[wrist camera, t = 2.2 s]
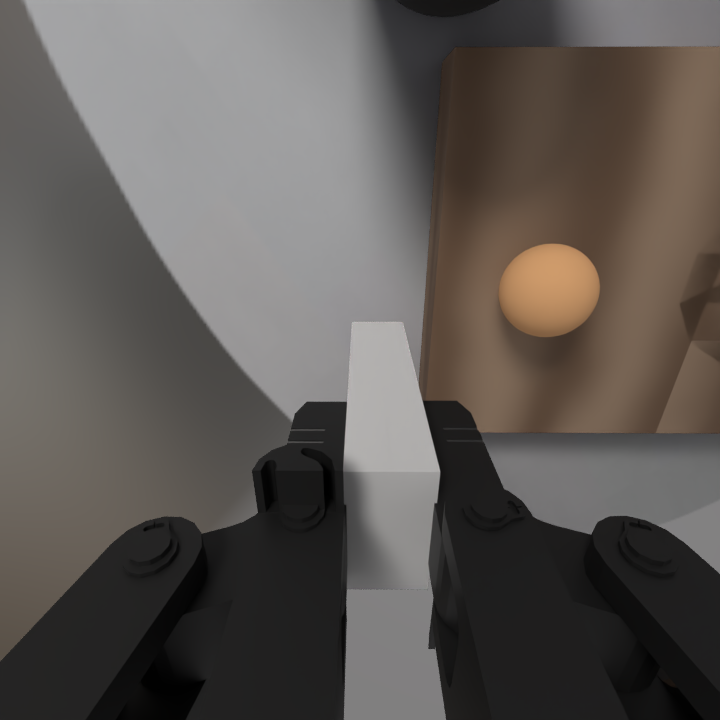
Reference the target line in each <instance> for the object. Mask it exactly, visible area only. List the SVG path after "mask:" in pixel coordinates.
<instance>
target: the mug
mask: <svg viewBox="0 0 720 720" xmlns="http://www.w3.org/2000/svg"><path fill="white" fill-rule="evenodd" d="M396 1H398V2H399V3H400V4H402V5H404V6H405V7H407V8H409V9H411V10H413V11H415V12H418V13H421V14H424V15H429V16H437V17H450V16H457V15H463V14H467V13H470V12H474V11H477V10H480V9H482V8H484V7H486V6H489V5H491V4H493V3H495V2H497V1H499V0H396Z"/></svg>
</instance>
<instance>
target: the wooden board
mask: <svg viewBox="0 0 720 720" xmlns="http://www.w3.org/2000/svg"><path fill="white" fill-rule="evenodd" d="M542 244H563V245H567V246H570V247H573V248H575V249H577V250H579V251H580V252H582V253H583V254H584V255H586V256H587V257H588V259H589V260H590V261H591V262H592V263H593V265H594V267H595V269H596V271H597V273H598V277H599V282H600V293H599V298H598V301H597V304H596V306H595V308H594V310H593V312H592V313H591V315H590V316H589V317H588V319H587V320H586V321H585V322H584V323H582V324H581V325H580V326H579V327H577V328H576V329H574V330H572V331H570V332H568V333H566V334H563V335H559V336H554V337H538V336H532V335H529V334H526V333H524V332H522V331H520V330H518V329H517V328H516V327H514V326H513V325H512V324H511V323H510V322H509V321H508V320H507V318H506V317H505V315H504V313H503V312H502V309H501V306H500V302H499V295H498V292H499V284H500V280H501V277H502V275H503V273H504V271H505V269H506V268H507V266H508V265H509V264H510V263H511V261H512V260H513V259H514V258H515V257H517V256H518V255H519V254H521V253H522V252H524V251H525V250H528V249H530V248H532V247H535V246H538V245H542ZM419 389H420V393H421V397H422V401H458V402H459V403H460V404H461V405H463V406H464V407H465V408H466V409H467V410H468V411H470V412H471V414H472V416H473V419H474V421H475V423H476V426H477V430H479V432H494V433H720V47H455V48H454V49H453V50H452V51H451V53H450V54H449V55H448V56H447V57H446V58H445V59H444V61H443V62H442V69H441V83H440V97H439V111H438V125H437V138H436V152H435V166H434V180H433V194H432V207H431V221H430V235H429V249H428V263H427V276H426V290H425V304H424V318H423V332H422V345H421V359H420V373H419Z"/></svg>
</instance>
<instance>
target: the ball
mask: <svg viewBox="0 0 720 720" xmlns="http://www.w3.org/2000/svg"><path fill="white" fill-rule="evenodd" d="M599 293H600V282H599V277H598V273H597V271H596V269H595V267H594V265H593V263H592V262H591V261H590V260H589V259H588V257H587V256H586V255H584V254H583V253H582V252H580V251H579V250H577V249H575V248H573V247H570V246H567V245H563V244H542V245H538V246H535V247H532V248H530V249H528V250H525V251H524V252H522V253H521V254H519V255H518V256H517V257H515V258H514V259H513V260H512V261H511V263H510V264H509V265H508V266H507V268H506V269H505V271H504V273H503V275H502V277H501V280H500V284H499V292H498V295H499V302H500V306H501V309H502V312H503V313H504V315H505V317H506V318H507V320H508V321H509V322H510V323H511V324H512V325H513V326H514V327H516V328H517V329H518V330H520V331H522V332H524V333H526V334H529V335H532V336H538V337H554V336H559V335H563V334H566V333H568V332H570V331H572V330H574V329H576V328H577V327H579V326H580V325H581V324H582V323H584V322H585V321H586V320H587V319H588V317H589V316H590V315H591V313H592V312H593V310H594V308H595V306H596V304H597V301H598V298H599Z"/></svg>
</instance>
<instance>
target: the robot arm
mask: <svg viewBox="0 0 720 720" xmlns="http://www.w3.org/2000/svg"><path fill="white" fill-rule="evenodd" d="M252 473H253V481H254V487H255V495H256V502H257V508H258V513H257V514H256V515H255V516H253V517H251V518H249V519H248V520H246V521H244V522H242V523H239V524H236V525H233V526H230V527H227V528H223V529H219V530H215V531H211V532H207V533H203V534H201V532H200V531H199V529H198V528H197V526H196V525H195V523H193V522H191V521H189V520H187V519H184V518H182V517H161V518H157V519H153V520H149V521H145V522H143V523H141V524H139V525H137V526H135V527H133V528H131V529H129V530H128V531H126V532H125V533H124V534H123V535H121V536H120V537H119V538H118V539H117V540H115V541H114V542H113V543H112V544H111V545H110V546H109V547H108V548H107V549H106V550H105V551H104V552H103V553H102V554H101V555H100V557H99V558H98V559H97V560H96V561H95V562H94V563H93V564H92V565H91V566H90V567H89V568H88V569H87V570H86V571H85V572H84V573H83V575H82V576H81V577H80V578H79V579H78V580H77V581H76V582H75V583H74V584H73V585H72V586H71V587H70V588H69V589H68V590H67V591H66V592H65V594H64V595H63V596H62V597H61V598H60V599H59V600H58V601H57V602H56V603H55V604H54V605H53V606H52V607H51V609H50V610H49V611H48V612H47V613H46V614H45V615H44V616H43V617H42V618H41V619H40V620H39V621H38V622H37V623H36V624H35V625H34V626H33V628H32V629H31V630H30V631H29V632H28V633H27V634H26V635H25V636H24V637H23V638H22V639H21V640H20V642H18V643H17V645H15V647H14V648H13V649H12V650H11V651H10V652H9V653H8V654H7V655H6V656H5V657H4V658H3V659H2V660H1V661H0V720H344V691H345V690H344V689H345V658H346V657H345V656H346V624H347V623H346V622H347V616H346V593H347V589H417V590H418V589H419V590H421V589H424V590H427V589H428V583H429V574H430V579H431V585H432V591H433V597H434V599H433V607H432V616H431V625H430V633H429V649H435V647H436V653H437V660H438V667H439V674H440V681H441V687H442V694H443V701H444V708H445V714H446V720H720V574H719V573H718V572H717V571H716V570H715V569H714V568H712V567H711V566H710V565H709V564H708V563H707V562H706V561H705V560H703V559H702V558H701V557H700V556H699V555H698V554H697V553H695V552H694V551H693V550H692V549H691V548H690V547H689V546H688V545H686V544H685V543H684V542H682V541H681V540H679V539H678V538H677V537H675V536H674V535H672V534H671V533H670V532H669V531H667V530H665V529H663V528H661V527H659V526H657V525H654V524H652V523H650V522H648V521H646V520H641V519H637V518H633V517H629V516H610V517H607V518H605V519H603V520H601V521H599V522H598V523H597V524H596V526H595V528H594V530H593V532H592V535H590V534H586V533H582V532H578V531H574V530H570V529H566V528H562V527H558V526H554V525H551V524H548V523H545V522H542V521H540V520H538V519H536V518H534V517H533V516H532V514H531V512H530V511H529V510H528V508H527V507H526V506H525V504H524V503H523V502H522V501H521V500H520V499H519V498H517V497H516V496H515V495H513V494H512V493H510V492H509V491H507V490H504V488H503V486H502V484H501V481H500V479H499V477H498V474H497V472H496V470H495V467H494V465H493V463H492V460H491V458H490V456H489V453H488V451H487V449H486V446H485V444H484V442H482V437H481V435H480V432H479V430H477V426H476V423H475V421H474V419H473V416H472V414H471V412H470V411H468V410H467V409H466V408H465V407H464V406H463V405H461V404H460V403H459V402H458V401H422V397H421V393H420V389H419V385H418V381H417V377H416V373H415V369H414V365H413V361H412V357H411V353H410V349H409V345H408V341H407V337H406V333H405V329H404V325H403V322H352V331H351V348H350V364H349V380H348V397H347V402H306V403H305V404H304V405H303V406H302V407H301V408H300V409H299V410H298V411H297V412H296V413H295V416H294V419H293V423H292V428H291V431H290V435H289V439H288V443H287V445H285V446H282V447H279V448H277V449H274V450H271V451H270V452H269V453H268V454H266V455H265V456H263V457H262V458H260V459H259V461H258V462H257V464H256V465H255V467H254V468H253V470H252Z"/></svg>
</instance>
